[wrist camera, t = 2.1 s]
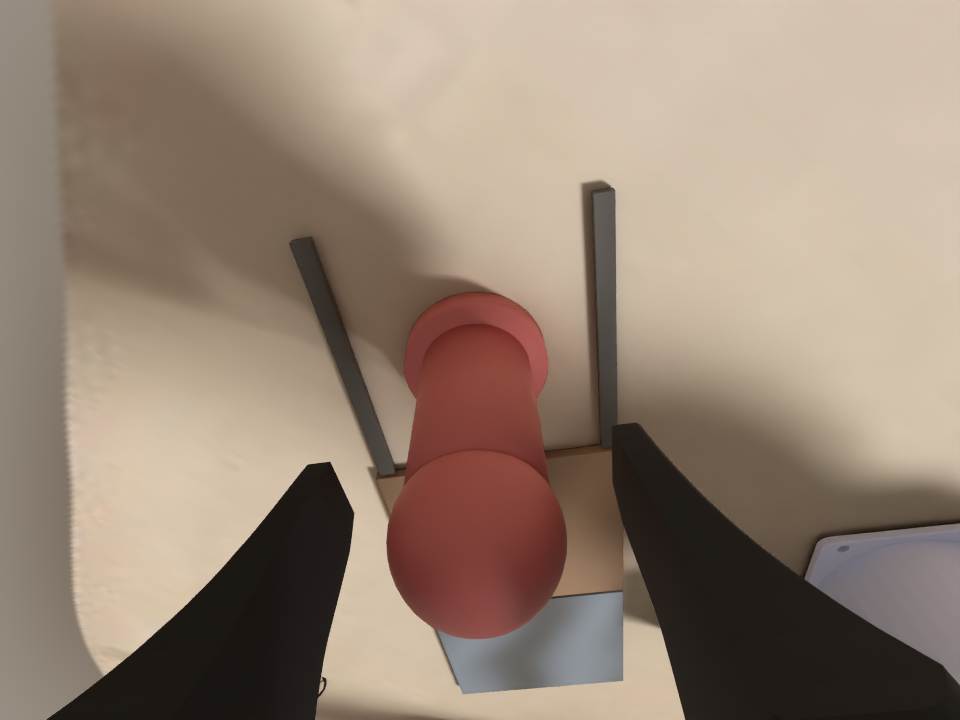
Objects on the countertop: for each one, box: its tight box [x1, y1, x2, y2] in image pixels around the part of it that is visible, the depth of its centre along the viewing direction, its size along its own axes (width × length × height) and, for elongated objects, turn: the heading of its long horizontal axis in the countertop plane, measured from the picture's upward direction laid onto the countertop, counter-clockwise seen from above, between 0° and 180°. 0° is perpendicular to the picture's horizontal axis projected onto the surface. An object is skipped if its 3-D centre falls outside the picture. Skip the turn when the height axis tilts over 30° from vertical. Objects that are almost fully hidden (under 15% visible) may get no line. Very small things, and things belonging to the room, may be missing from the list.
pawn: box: [386, 292, 567, 639], centre depth 13 cm, size 5×5×10 cm
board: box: [289, 188, 623, 694], centre depth 23 cm, size 10×30×1 cm, turn 9°
